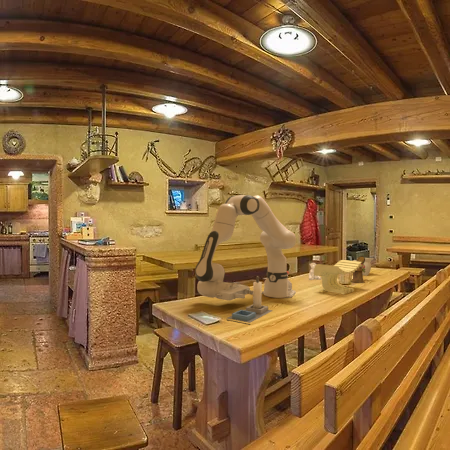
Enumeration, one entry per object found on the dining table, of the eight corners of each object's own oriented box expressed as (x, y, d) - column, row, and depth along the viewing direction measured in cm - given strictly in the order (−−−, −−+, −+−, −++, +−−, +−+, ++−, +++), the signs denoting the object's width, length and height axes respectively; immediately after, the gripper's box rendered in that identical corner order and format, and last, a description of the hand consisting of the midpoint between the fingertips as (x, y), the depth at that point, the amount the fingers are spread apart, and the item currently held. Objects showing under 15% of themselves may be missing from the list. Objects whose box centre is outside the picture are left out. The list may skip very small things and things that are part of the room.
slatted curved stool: (337, 285, 251) (338, 259, 250) (360, 289, 239) (361, 261, 239) (313, 291, 230) (314, 263, 229) (337, 296, 218) (337, 266, 218)
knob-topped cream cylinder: (255, 309, 183) (255, 274, 182) (262, 310, 181) (263, 275, 180) (251, 311, 180) (252, 276, 179) (258, 312, 178) (259, 277, 177)
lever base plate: (251, 308, 188) (251, 302, 188) (273, 312, 182) (273, 306, 182) (226, 320, 168) (226, 313, 168) (249, 324, 161) (249, 318, 161)
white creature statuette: (309, 280, 269) (309, 263, 268) (304, 278, 277) (305, 262, 277) (321, 279, 270) (321, 263, 270) (316, 277, 279) (316, 261, 278)
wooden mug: (367, 281, 268) (368, 256, 268) (360, 283, 258) (361, 258, 257) (355, 279, 274) (356, 255, 274) (348, 281, 264) (349, 256, 263)
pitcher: (354, 272, 306) (354, 255, 305) (376, 275, 293) (376, 258, 293) (348, 273, 298) (348, 256, 297) (370, 277, 285) (371, 259, 285)
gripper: (213, 288, 181) (238, 292, 174) (235, 281, 198) (258, 284, 191) (213, 301, 181) (238, 305, 174) (235, 293, 199) (258, 297, 191)
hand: (248, 294), depth 183 cm, fingers open, 8 cm apart
